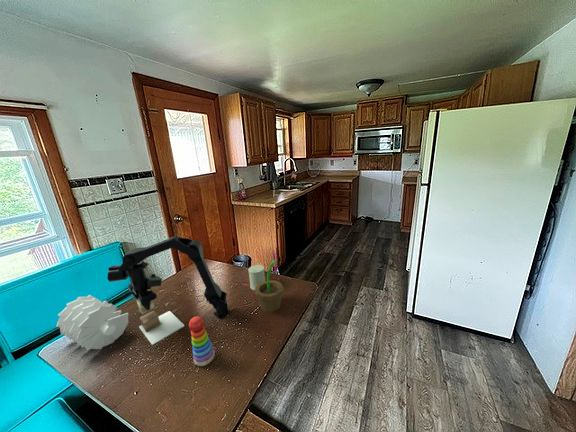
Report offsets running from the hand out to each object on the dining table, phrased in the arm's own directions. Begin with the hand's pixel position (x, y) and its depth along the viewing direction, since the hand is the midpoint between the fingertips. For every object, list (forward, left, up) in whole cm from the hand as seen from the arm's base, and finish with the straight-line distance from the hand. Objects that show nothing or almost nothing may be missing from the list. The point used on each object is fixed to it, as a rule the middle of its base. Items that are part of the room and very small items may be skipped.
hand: (146, 307), depth 106 cm
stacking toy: (-37, -7, -11) cm, 39 cm away
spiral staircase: (+12, +18, -11) cm, 24 cm away
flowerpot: (-35, -45, -11) cm, 58 cm away
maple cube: (0, 0, -1) cm, 1 cm away
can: (-16, -53, -11) cm, 56 cm away
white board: (-4, -3, -10) cm, 12 cm away
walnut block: (0, 0, -10) cm, 10 cm away
